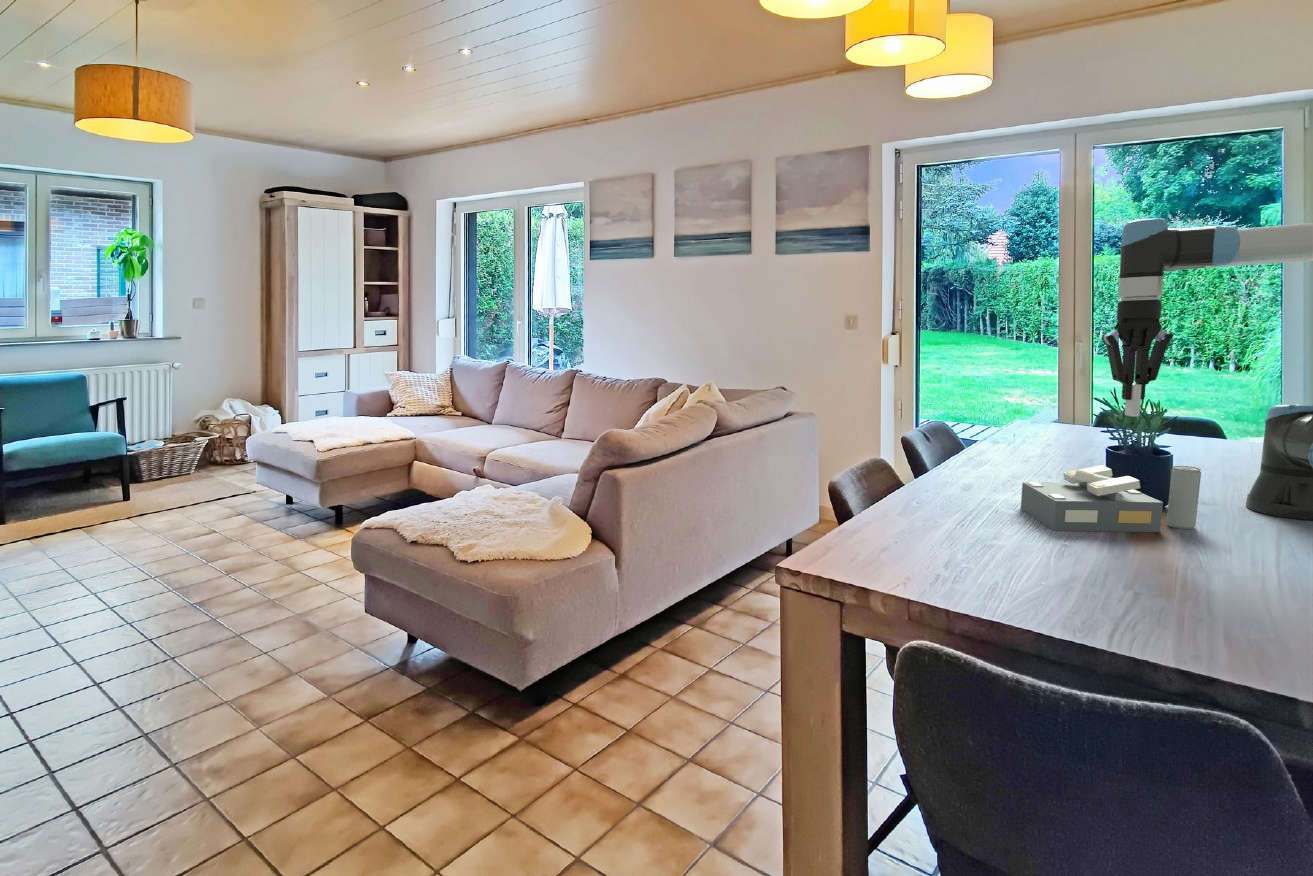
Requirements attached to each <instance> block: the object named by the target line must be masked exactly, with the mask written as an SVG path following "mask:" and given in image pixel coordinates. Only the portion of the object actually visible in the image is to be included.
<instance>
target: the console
mask: <svg viewBox="0 0 1313 876" xmlns="http://www.w3.org/2000/svg"><path fill="white" fill-rule="evenodd" d="M1087 483H1088V482H1081V483H1075V484H1072V483H1070V482H1043V481H1041V482H1040V481H1039V482H1037V481H1035V482H1031V481H1029V482H1028V481H1026V482H1025V481H1022V484H1021V485H1022V486H1021V487H1022V488H1021V498H1020V499H1021V500H1020V509H1021V510H1022V511H1023V512H1025V513H1026V514H1028V515H1029V516H1031V517H1032V518H1033V519H1036V520H1037V521H1038V522H1040V523H1042V524H1043V525H1044V526H1045V527H1047V528H1049V529H1051V530H1052V531H1059V532H1060V531H1067V532H1074V531H1075V532H1077V531H1078V532H1125V533H1128V532H1129V533H1133V532H1134V533H1135V532H1136V533H1161V527H1162V517H1163V509H1164V508H1163V506H1164V502H1163V501H1161V500H1159V499H1157V498H1154V497H1151V496H1149V495H1147V494H1145V493H1143V492H1141V491H1138V490H1137V489H1133V490H1128V491H1122V492H1117V493H1111V494H1106V495H1100V496H1097V495H1095V494H1093V493H1091V492H1089V491H1088V490H1087Z"/></svg>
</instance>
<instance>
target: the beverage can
mask: <svg viewBox="0 0 1313 876" xmlns="http://www.w3.org/2000/svg"><path fill="white" fill-rule="evenodd" d="M1201 469H1202V468H1199V467H1195V466H1189V465H1173V466H1172V469H1171V474H1170V475H1171V476H1170V484H1169V485H1170V486H1169V494H1168V505H1167V513H1166V524H1167V526H1169V527H1170V528H1174V529H1178V530H1179V529H1180V530H1192V529H1194V528H1195V527H1196V524H1197V514H1198V505H1199V497H1200V489H1201V487H1200V486H1201V479H1202V478H1201V477H1202V470H1201Z"/></svg>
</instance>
